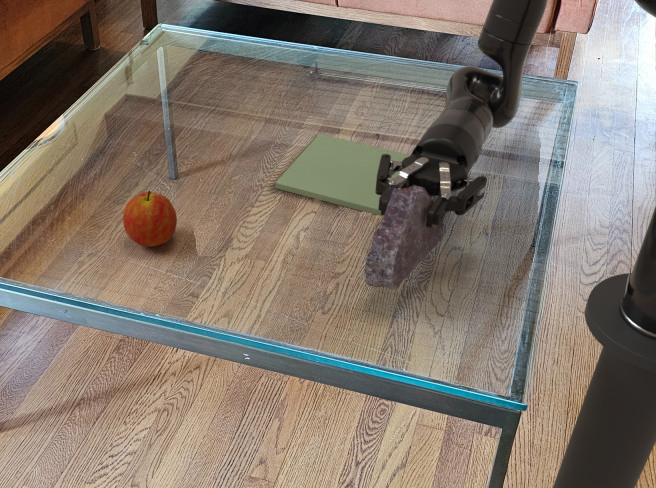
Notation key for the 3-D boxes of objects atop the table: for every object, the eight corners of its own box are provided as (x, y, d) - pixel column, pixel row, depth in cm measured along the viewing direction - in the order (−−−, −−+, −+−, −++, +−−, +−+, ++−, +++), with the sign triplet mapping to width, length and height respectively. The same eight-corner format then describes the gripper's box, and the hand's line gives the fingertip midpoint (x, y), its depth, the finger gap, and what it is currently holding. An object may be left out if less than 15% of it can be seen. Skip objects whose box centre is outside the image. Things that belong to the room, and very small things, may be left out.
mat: (442, 168, 125) (443, 162, 125) (407, 223, 114) (408, 217, 114) (319, 139, 132) (319, 133, 132) (275, 188, 121) (275, 182, 121)
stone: (415, 148, 102) (358, 204, 92) (463, 165, 99) (409, 224, 89) (401, 219, 108) (346, 278, 99) (445, 236, 106) (394, 299, 96)
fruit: (115, 243, 111) (107, 192, 106) (152, 220, 115) (147, 170, 110) (151, 264, 108) (146, 212, 102) (189, 239, 112) (185, 188, 106)
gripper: (399, 111, 110) (351, 173, 98) (509, 134, 105) (471, 203, 93) (394, 161, 115) (347, 226, 103) (498, 186, 110) (461, 257, 98)
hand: (406, 214), depth 98 cm, fingers closed on stone, 5 cm apart
